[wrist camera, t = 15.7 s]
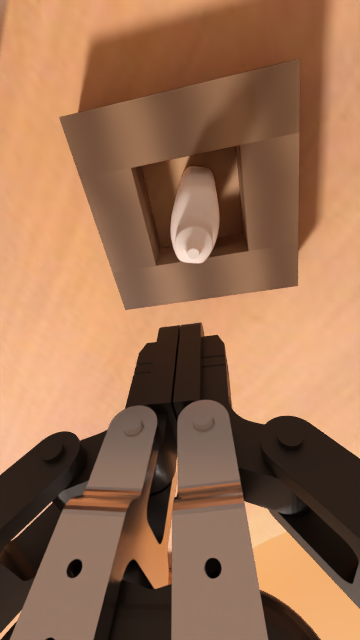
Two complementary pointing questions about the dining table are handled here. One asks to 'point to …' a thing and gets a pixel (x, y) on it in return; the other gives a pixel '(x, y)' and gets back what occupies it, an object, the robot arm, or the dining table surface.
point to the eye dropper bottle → (195, 215)
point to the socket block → (184, 140)
